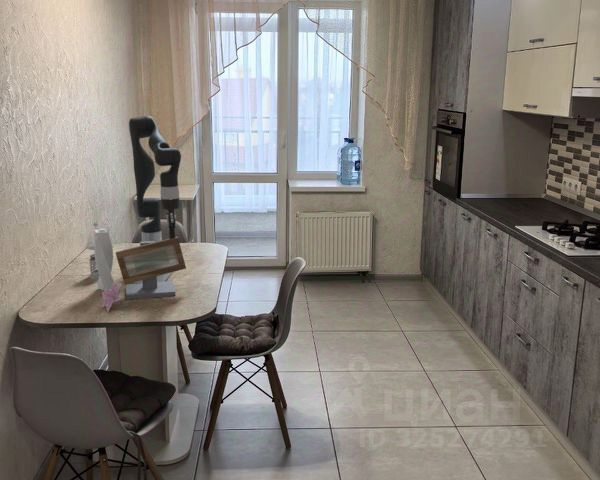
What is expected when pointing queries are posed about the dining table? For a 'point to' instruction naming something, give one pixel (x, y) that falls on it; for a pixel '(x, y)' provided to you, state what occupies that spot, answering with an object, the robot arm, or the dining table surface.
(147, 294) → the display stand
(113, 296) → the lily
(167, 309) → the dining table surface
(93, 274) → the french press
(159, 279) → the play button award
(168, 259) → the picture frame
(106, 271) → the skyscraper
